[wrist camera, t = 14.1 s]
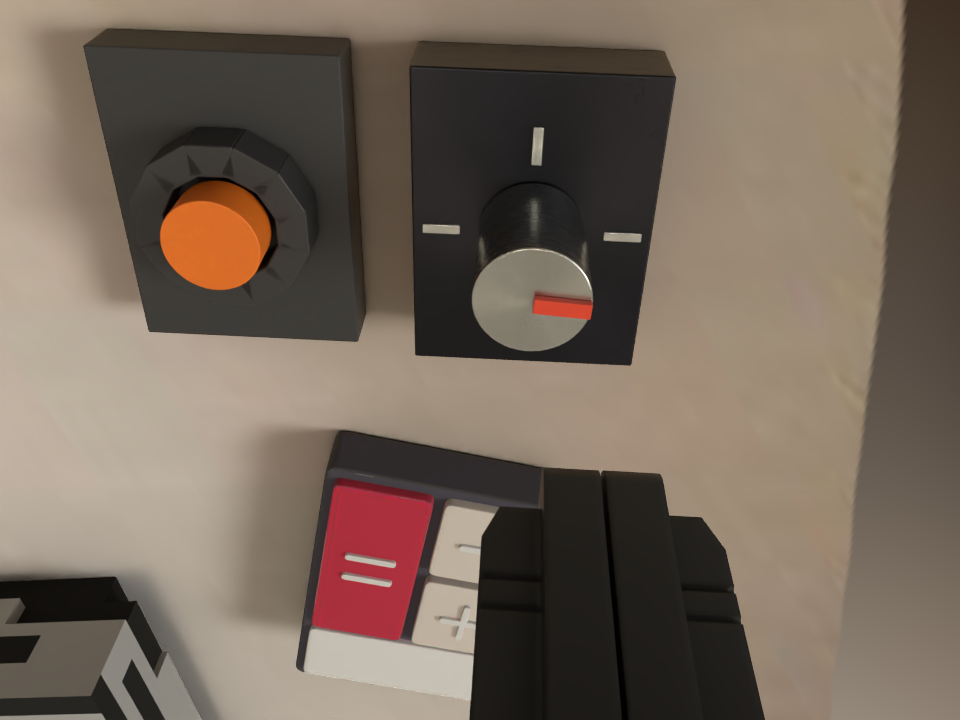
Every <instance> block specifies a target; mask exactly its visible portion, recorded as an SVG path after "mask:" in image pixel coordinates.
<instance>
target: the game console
mask: <svg viewBox="0 0 960 720" xmlns="http://www.w3.org/2000/svg"><path fill="white" fill-rule="evenodd" d="M0 720H202V719H201V717H200V715H199V713H198V711H197V709H196V707H195V705H194V703H193V701H192V699H191V697H190V696H189V694H188V692H187V690H186V688H185V686H184V684H183V682H182V680H181V678H180V676H179V674H178V672H177V670H176V668H175V666H174V664H173V662H172V660H171V658H170V656H169V654H168V652H162V650H161V648H160V646H159V644H158V642H157V641H156V639H155V637H154V635H153V633H152V631H151V629H150V627H149V625H148V623H147V621H146V619H145V617H144V615H143V613H142V611H141V609H140V607H139V605H138V603H137V602H136V601H128V599H127V597H126V596H125V594H124V592H123V590H122V588H121V586H120V584H119V582H118V580H117V578H116V577H111V578H88V579H65V580H42V581H19V582H0Z"/></svg>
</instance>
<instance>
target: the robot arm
mask: <svg viewBox="0 0 960 720" xmlns="http://www.w3.org/2000/svg"><path fill="white" fill-rule="evenodd" d="M470 720H765V718H764V713H763V709H762V705H761V701H760V696H759V692H758V688H757V683H756V679H755V675H754V670H753V666H752V662H751V658H750V653H749V649H748V645H747V640H746V636H745V632H744V627H743V624H741V614H740V610H739V606H738V602H737V597H736V594H734V584H733V580H732V576H731V571H730V567H729V563H728V558H727V554H726V550H725V549H724V547H723V546H722V545H721V543H720V542H719V541H718V539H717V538H716V536H715V535H714V534H713V532H712V531H711V530H710V528H709V527H708V526H707V524H706V523H705V522H704V520H703V519H702V518H701V517H684V516H669V513H668V507H667V501H666V495H665V489H664V484H663V480H662V477H661V475H660V474H656V473H638V472H620V471H602V473H601V476H600V473H599V471H597V470H579V469H561V468H542V472H541V481H540V491H539V501H538V508H521V507H503V506H500V507H499V509H498V510H497V512H496V514H495V515H494V517H493V518H492V520H491V522H490V523H489V525H488V527H487V528H486V530H485V531H484V533H483V535H482V536H481V551H480V566H479V582H478V597H477V613H476V628H475V643H474V659H473V674H472V690H471V705H470Z"/></svg>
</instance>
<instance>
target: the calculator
mask: <svg viewBox="0 0 960 720" xmlns="http://www.w3.org/2000/svg"><path fill="white" fill-rule="evenodd" d="M541 472H542V469H541V468H536V467H531V466H525V465H520V464H515V463H510V462H504V461H499V460H494V459H489V458H483V457H478V456H473V455H468V454H462V453H457V452H452V451H447V450H441V449H436V448H431V447H426V446H420V445H415V444H410V443H404V442H399V441H394V440H389V439H383V438H378V437H373V436H368V435H362V434H357V433H352V432H346V431H344V432H340V433H338V434H337V436H336V438H335V441H334V445H333V448H332V452H331V455H330V459H329V462H328V466H327V469H326V474H325V480H324V486H323V493H322V499H321V506H320V512H319V519H318V525H317V532H316V538H315V545H314V551H313V558H312V564H311V571H310V577H309V584H308V590H307V596H306V603H305V609H304V616H303V622H302V629H301V635H300V642H299V648H298V655H297V661H296V667H297V669H298V670H300V671H302V672H306V673H309V674H314V675H320V676H326V677H332V678H338V679H344V680H350V681H356V682H362V683H368V684H374V685H380V686H386V687H392V688H398V689H404V690H410V691H416V692H422V693H428V694H434V695H440V696H446V697H452V698H458V699H464V700H470V701H471V690H472V674H473V659H474V643H475V628H476V613H477V597H478V582H479V566H480V551H481V536H482V535H483V533H484V531H485V530H486V528H487V527H488V525H489V523H490V522H491V520H492V518H493V517H494V515H495V514H496V512H497V510H498V509H499V507H500V506H503V507H521V508H538V501H539V491H540V481H541Z"/></svg>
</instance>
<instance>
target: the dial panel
mask: <svg viewBox="0 0 960 720" xmlns="http://www.w3.org/2000/svg"><path fill="white" fill-rule="evenodd" d="M675 82H676V77H675V74H674V72H673V70H672V67H671V65H670V63H669V60H668V58H667V56H666V53H665V52H664V51H647V50H622V49H597V48H572V47H547V46H522V45H497V44H473V43H448V42H423V41H420V42H419V43H418V45H417V48H416V51H415V54H414V56H413V59H412V62H411V65H410V116H411V167H412V218H413V268H414V319H415V354H416V355H419V356H440V357H461V358H482V359H503V360H524V361H545V362H566V363H587V364H608V365H629V366H630V365H631V364H632V357H633V351H634V344H635V338H636V332H637V325H638V319H639V312H640V306H641V300H642V293H643V287H644V280H645V274H646V267H647V261H648V255H649V248H650V242H651V235H652V229H653V223H654V216H655V210H656V203H657V197H658V191H659V184H660V178H661V171H662V165H663V158H664V152H665V146H666V139H667V133H668V126H669V120H670V114H671V107H672V101H673V94H674V88H675ZM527 183H539V184H545V185H548V186H552V187H554V188H557V189H559V190H561V191H562V192H564V193H565V194H567V195H568V196H569V197H570V198H571V199H572V200H573V201H574V202H575V203H576V204H577V206H578V207H579V209H580V211H581V213H582V216H583V218H584V223H585V230H586V238H587V247H588V256H589V264H590V273H591V282H592V291H593V308H592V313H591V318H590V320H588V321H587V322H586V324H585V325H584V327H583V328H582V329H581V330H580V332H579V333H578V334H576V335H575V336H574V337H573V338H572V339H570V340H569V341H567V342H565V343H564V344H562V345H559V346H557V347H554V348H551V349H547V350H541V351H523V350H517V349H513V348H510V347H507V346H505V345H502V344H501V343H499V342H497V341H495V340H494V339H493V338H491V337H490V336H489V335H488V334H487V333H486V332H485V331H484V330H483V329H482V328H481V326H480V325H479V323H478V322H477V320H476V317H475V315H474V312H473V308H472V289H473V279H474V269H475V259H476V249H477V239H478V229H479V223H480V219H481V216H482V214H483V212H484V210H485V208H486V207H487V205H488V204H489V203H490V201H491V200H492V199H493V198H494V197H496V196H497V195H498V194H499V193H501V192H502V191H504V190H506V189H508V188H510V187H513V186H516V185H520V184H527Z"/></svg>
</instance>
